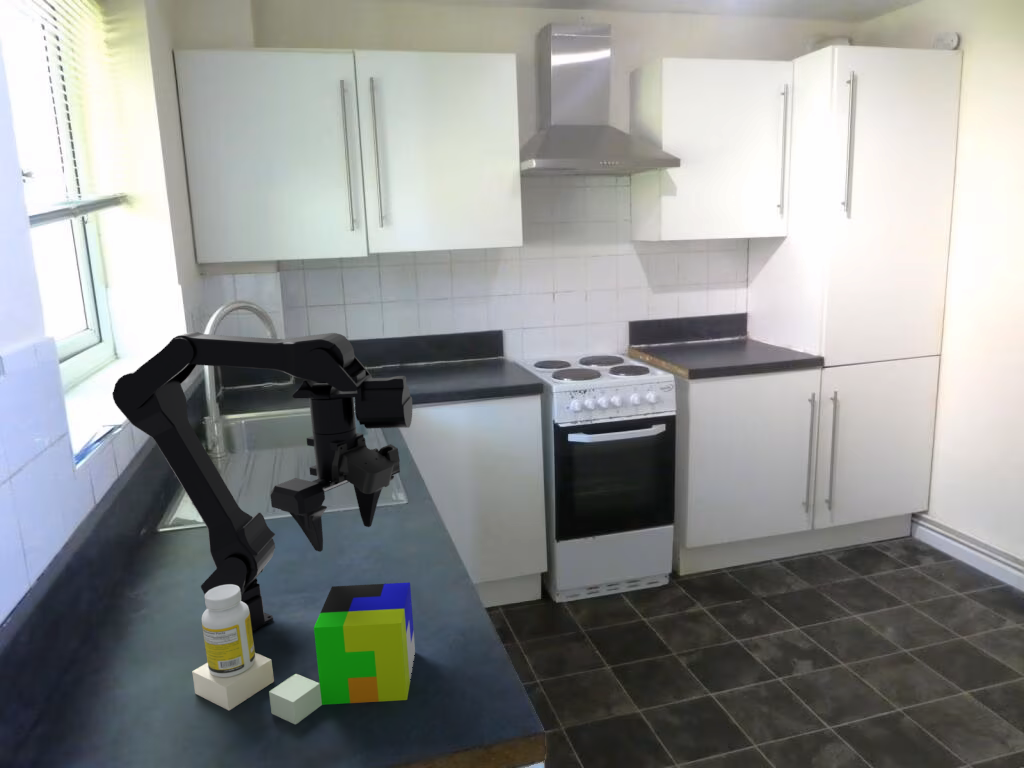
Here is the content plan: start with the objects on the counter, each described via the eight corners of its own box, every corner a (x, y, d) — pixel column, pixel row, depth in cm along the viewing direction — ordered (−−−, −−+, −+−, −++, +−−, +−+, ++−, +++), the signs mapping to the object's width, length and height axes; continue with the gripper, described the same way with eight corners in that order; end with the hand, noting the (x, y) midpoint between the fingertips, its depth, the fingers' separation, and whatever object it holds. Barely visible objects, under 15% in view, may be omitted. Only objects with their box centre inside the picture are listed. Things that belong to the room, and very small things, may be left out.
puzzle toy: (415, 652, 96) (410, 582, 94) (407, 700, 86) (401, 623, 84) (338, 656, 96) (331, 586, 94) (321, 705, 86) (313, 627, 84)
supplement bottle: (235, 648, 93) (226, 577, 91) (265, 660, 90) (256, 586, 88) (198, 671, 88) (188, 596, 86) (228, 683, 85) (218, 607, 83)
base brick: (195, 693, 89) (192, 671, 88) (240, 666, 94) (237, 645, 93) (229, 710, 85) (226, 687, 85) (274, 681, 91) (271, 659, 90)
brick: (271, 714, 85) (269, 691, 84) (298, 696, 88) (295, 673, 87) (295, 725, 82) (292, 702, 82) (321, 706, 86) (319, 683, 85)
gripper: (324, 455, 86) (335, 579, 89) (425, 419, 101) (432, 525, 104) (261, 444, 91) (274, 559, 95) (366, 411, 107) (374, 511, 110)
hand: (344, 538), depth 101 cm, fingers open, 9 cm apart
